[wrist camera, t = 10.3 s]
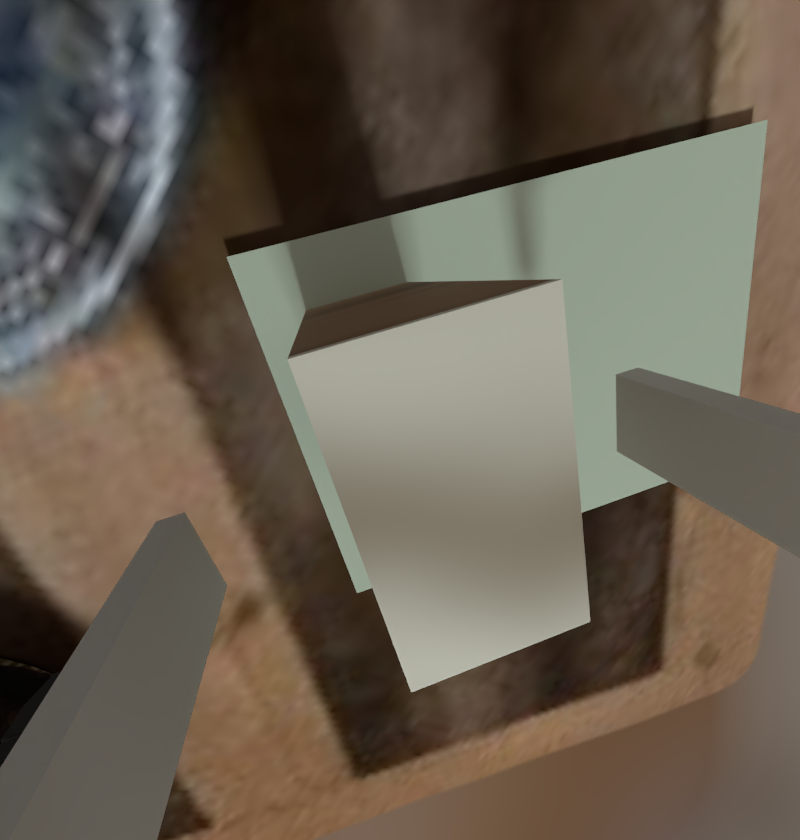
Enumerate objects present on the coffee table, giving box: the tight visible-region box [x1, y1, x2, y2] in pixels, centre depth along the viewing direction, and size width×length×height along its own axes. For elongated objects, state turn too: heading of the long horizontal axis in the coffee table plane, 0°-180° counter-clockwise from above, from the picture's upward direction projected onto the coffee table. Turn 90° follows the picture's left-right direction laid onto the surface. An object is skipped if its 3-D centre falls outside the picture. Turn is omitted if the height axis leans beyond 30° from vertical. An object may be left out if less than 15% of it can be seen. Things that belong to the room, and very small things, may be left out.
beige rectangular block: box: [287, 279, 590, 692], centre depth 11 cm, size 7×4×10 cm, turn 14°
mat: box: [227, 120, 768, 593], centre depth 18 cm, size 16×22×1 cm
